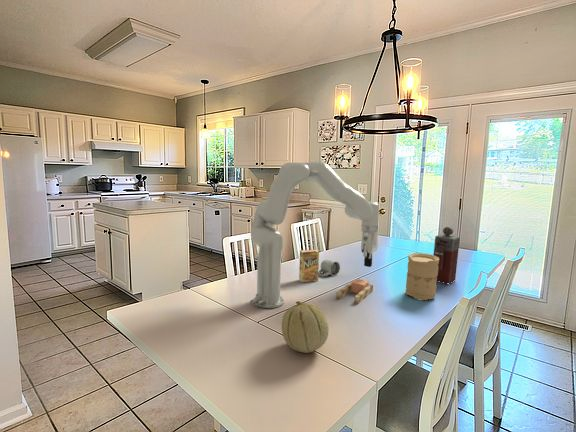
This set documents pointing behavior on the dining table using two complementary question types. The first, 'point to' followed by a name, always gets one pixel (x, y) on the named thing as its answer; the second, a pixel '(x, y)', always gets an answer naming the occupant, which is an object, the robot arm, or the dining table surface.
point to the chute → (359, 296)
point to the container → (422, 276)
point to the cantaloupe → (305, 327)
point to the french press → (446, 255)
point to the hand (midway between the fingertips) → (367, 266)
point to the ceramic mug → (329, 268)
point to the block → (358, 285)
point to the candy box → (308, 265)
